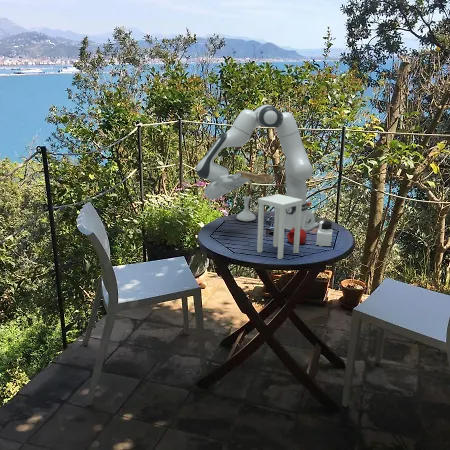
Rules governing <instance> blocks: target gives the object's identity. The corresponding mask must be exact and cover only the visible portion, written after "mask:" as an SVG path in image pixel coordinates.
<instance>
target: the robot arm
mask: <svg viewBox="0 0 450 450" xmlns="http://www.w3.org/2000/svg"><path fill="white" fill-rule="evenodd" d="M259 126H260V127H261V126H262V127H265V128H268V129H269V128H274V129H275V130H276V133H277V137H278V140H279V144H280V146H281V150H282V153H283V154H284V157H285V161H284V172H285V175H284V176H285V183H286V195H285V196H289V197H293V198H298V199H302V200H303V204H302V209H301V225H300V227H302V228H300V229H304V231H305V232H308V231H311V230H312V229H314V228H316V227H317V226H318V227H319V222H318V221H315V220H316V219H315V217H316V216H315V214H314V213H313V212H312V211H310V210H309V208H308V207H310V206H312V205H311V204H312V203H311V202H307V194H308V188H307V183H306V180H307V181H308V180H309V179H310V178H311V177H312V176H313V173H314V168H313V166H312V163H311V162H310V161H311V160H310V159H309V157H308V153H307V152H306V149H305V147H304V144H303V141H302V137H301V133H300V130H299V126H298V124H297V122H296V119H295V117H294V115H293V113H291V112H288V111H284V112H281V111H279V109H278V108H277V107H275V106H273V105H271V104H261V105H259V106H258V107H257V108H255V109H253V110H251V109H247V108H245V109H243V110H241V112H240V113H238V115H237V117H236V118H235V120H234V122H233V123H232V125H231V127H230V128H229V129H228V130H227V131H226V132H223V133H221V134H219V136H218V137H217V139H216V140H215V141H214V142H213V144H212V145H211V146H210V147H209V149H208V150H207V152H206V153H205V154H204V155H203V157H202V159H200V160H199V161H198V163H197V164H196V167H195V172H196V174H197V176H198V177H199V178H201V179H203V180H208V181H210V182H209V184H208V185H207V186H206V187H205V188H204V190H203V192H204V196H206V197H207V199H210V200H216V199H219V198H222V197H223V196H224V195H226V194H229V193H230V192H232V191H234V190H237V189H238V188H241V187H243V185H245V184H246V183H248V181H249V180H250V181H252V180H251V179H247V178H242V177H241V176H242V173H238V174H236V173H235V174H231V173H230V172H229V171H230V170H229V169H228V168H227V167H226V166H223V165H220V164H218V163H216V162H214V160H215V159H216V157H218V155H219V153H220V152H221V151H222V150H223V149H225V148H230V147H231V148H239V147H243V146H245V145H246V144H247V143H248V142H249V140H250V138H251V136H252V134H253V133H254V130H255V129H256V128H257V127H259ZM247 172H248V173H251V172H250V171H247ZM295 216H296V206H293V207H290V208H286V211H285V230H289V231H291V229H293V228H291V227H294V228H295Z"/></svg>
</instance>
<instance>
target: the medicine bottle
mask: <svg viewBox="0 0 450 450" xmlns="http://www.w3.org/2000/svg"><path fill="white" fill-rule="evenodd" d="M318 223H319V225H318V229H317V232H316V239H315V240H316V243H315V246H316V245H319V246H318V247H322V246H332V243H331V242H333V241H332V240H333V229H332V228H333V227H332V226H333V223H332V222H331V221H330V220H321V221H319V222H318Z"/></svg>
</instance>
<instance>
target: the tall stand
mask: <svg viewBox="0 0 450 450" xmlns="http://www.w3.org/2000/svg"><path fill="white" fill-rule="evenodd" d="M257 203H258V212H257V213H258V214H257V215H258V218H257V244H256V245H257V247H256V252H257V253H259V254H260V253H262V252H263V250H264V249H263V244H264V221H265V219H264V218H265V217H264V216H265V206H270V207H273V208H274V219H273V239H272V242H273V243H272V246H273V247H274V248H277V257H276V258H278V259H277V260H279V259H282V258H283V259H284V245H285V230H286V229H285V211H286V208H290V207H293V206H296V216H295V233H294V244H293V251H292V252H293V254H295V253H298V254H299V253H300V244H299V240H300V225H301V209H302V204H303V200H302V199H298V198H293V197H289V196H286V195H284V194H281V193H280V194H279V193H277V194H272V195H268V196H263V197H258V198H257ZM283 259H282V260H283Z"/></svg>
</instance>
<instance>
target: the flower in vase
mask: <svg viewBox="0 0 450 450" xmlns="http://www.w3.org/2000/svg"><path fill="white" fill-rule="evenodd" d="M247 183H248V184H247V186H246V189H245V194H244V195H245V196H242V199H243V201H244V207H243V210H242V211H241V212H239V213H238V214H237V215H236V219H237V220H239V221H242V222H252V221H255V220H256V219H257V216H256V215H255V214H254V213H253V212H251V211H250V209H249V205H250V200H251V199H252V198H251V196H248V195H249V194H250V192H249V191H248V192H247V190H248V187H249V186H250V187H251V188H252V190H254V189H255V186H254V185H253V182H252V180H249V181H248V182H247Z"/></svg>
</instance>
